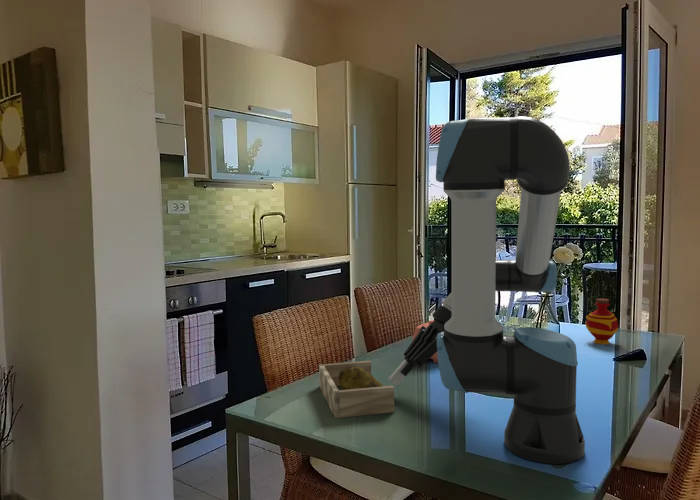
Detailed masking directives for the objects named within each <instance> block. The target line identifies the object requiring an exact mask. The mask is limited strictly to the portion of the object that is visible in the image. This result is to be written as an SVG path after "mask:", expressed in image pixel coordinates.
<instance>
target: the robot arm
mask: <svg viewBox="0 0 700 500" xmlns="http://www.w3.org/2000/svg"><path fill="white" fill-rule="evenodd" d="M570 171H571V166H570V158H569V154H568V151H567V149H566V147H565V144H564V142H563V140H562V139H561V137H560V136H559V134H557V133H556V132H555V131H554V130H553V129H552V128H551V127H550V126H549V125H548V124H546V123H545V122H542V121H541V120H538V119H537V118H533V117H530V116H516V117H515V116H514V117H491V118H489V117H488V118H487V117H486V118H466V119H459V120H450V121H448V122H446V123H445V124H444V125H443V127H442V129H441V131H440V136H439V142H438V147H437V155H436V165H435V181H436V182H438V183H443V192H444V194H446V195H447V196H448V197H449V198H450V201H451V211H450V212H451V213H450V214H451V292H450V293H449V294H448V296H447V297H446V298H445V299H444V300H443V301H442V305H439V306H438V307H437V309H436V310H434V312H433V313H432V317H433V320H434V321H433V322H432V323H431V324H430V325H429V326H428V327H427V328H425V327H424V326H422V327H421V329H420V331H419V333H418V334H417V336H416V337H415V339H414V340H413V339H412V340H413V341H411V343H410V344H409V346H408V347H407V349H406V350H405V351H404V353H403V355H404V359H403V360H402V361H401V362H400V364H399V365H398V367H397V368H395V370H394V371H393V372H392V373H391V375H390V376H388V378H387V379H388V380H389V381H390V382H391V383H392V384H393V386H395V387H399V385H400V384H401V383H402V381H404V379H405V378H406V377H407V376H408V375H409V374H410V372H411V371H412V370H413V369H414V368H421V367H423V365H424V364H426V363H427V362H428V361H429V359H430V358H431V357H432V356H433V355H434V354H435V353H436V352H437V355H438V363H437V364H438V370H439V375H440V380H441V382H442V384H443V387H445V388H446V389H447V390H449V391H455V392H463V393H465V394H468V393H476V394H478V393H479V394H492V395H493V394H495V395H497V394H498V395H510V396H511V395H512V396H513V406H512V409H511V412H510V415H509V417H508V421H507V422H506V425H505V428H504V432H503V433H504V435H503V440H504V441H503V443H504V446H505V447H506V449H507V450H509V451H510V452H511V453H512V454H514V455H516V456H518V457H521V458H523V459H525V460H529V461H532V462H537V463H541V464H549V465H551V464H552V465H555V464H556V465H561V464H569V462H570V463H574V462H577V461H579V460H581V459H582V458H583V457H584V456H585V449H586V448H585V447H586V442H585V441H586V440H585V437H584V434H583V431H582V427H581V425H580V422H579V418H578V415H577V412H576V411H577V409H576V408H577V371H578V370H577V368H578V364H579V363H578V356H577V355H578V354H577V345H576V343H575V341H574V340H573V339H572V338H571V337H569V336H567V335H566V334H562V333H560V332H557V331H554V330H550V329H545V328H541V327H533V326H532V327H531V326H520V327H517V328H515V329H514V331H513V334H512V335H510V334H509V335H508V334H506V335H505V334H504V326H503V325H502V324H501V323H500V322H499V321H498V320H497V318H496V292H521V293H522V292H523V293H524V292H525V293H537V294H538V293H544V292H545V293H546V292H547V293H550V292H554V290H556V288H557V279H558V273H557V272H558V270H557V269H558V268H557V263H556V262H554V261H553V260H551V256H552V255H551V254H552V249H553V242H554V236H555V231H556V224H557V218H558V217H557V216H558V212H559V207H560V198H561V192H562V191H564V190H565V189H566V187H567V186H568V183H569V179H570V173H571V172H570ZM513 180H514V181H516V182H517V185H518V187H519V188H520V201H519V202H520V203H519V213H518V226H517V227H518V228H517V238H516V250H515V251H516V252H515V260H514V259H513V260H504V259H503V260H498V259H497V199H498V197H499V196H500V195H502V193H503V192H504V191H505V190H506V189H505V188H506V181H513ZM578 459H579V460H578ZM576 460H577V461H576ZM573 461H574V462H573Z"/></svg>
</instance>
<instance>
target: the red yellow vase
mask: <svg viewBox="0 0 700 500" xmlns="http://www.w3.org/2000/svg"><path fill="white" fill-rule="evenodd" d="M595 300H596V302H595V306H597V309H595V310H594V311H593V312H592V311H591V312H590V313H589V314H588V315H586V316H585V318H586V321H585V322H584V323H585V328H586V329H587V331H588V332H589V333H590V335H592V336H593V337H594V338H595V339H594V340H593V343H594V344H599V345H610V344H611V343H610V341H609V340H610V339H612V338H613V337H614V336H615V334H617V332H618V330H619V323H618V319H617V317H616V316H615V313H614V312H612V311H610V310H608V307H610V303H609V302H610V299H608V298H596V299H595Z"/></svg>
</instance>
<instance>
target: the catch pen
mask: <svg viewBox="0 0 700 500" xmlns="http://www.w3.org/2000/svg"><path fill="white" fill-rule="evenodd" d="M349 366H356V367H360V368H362V369H363V370H364V371H366V372H368V373H369V374H371V375H372V361H371V360H363V361H361V360H360V361H359V360H358V361H350V362H336V363H334V362H333V363H322V364H318V380H319V381H318V383H319V386H318V387H319V389H320V391H321V393H322V394H323V397H324V399H325V401H326V402H327V405H328V407H329V408H330V411H331V413H332V415H333V417H334V419H339V418H349V417H359V416H369V415H370V416H371V415H378V414H388V413H395V387H394V385H383V386H382V387H371V388H360V389H349V390H343V389H340V390H339V388H338V387H341V386H340V384H339V374H340V372H341V371H342V370H343V369H345V368H347V367H349Z"/></svg>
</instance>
